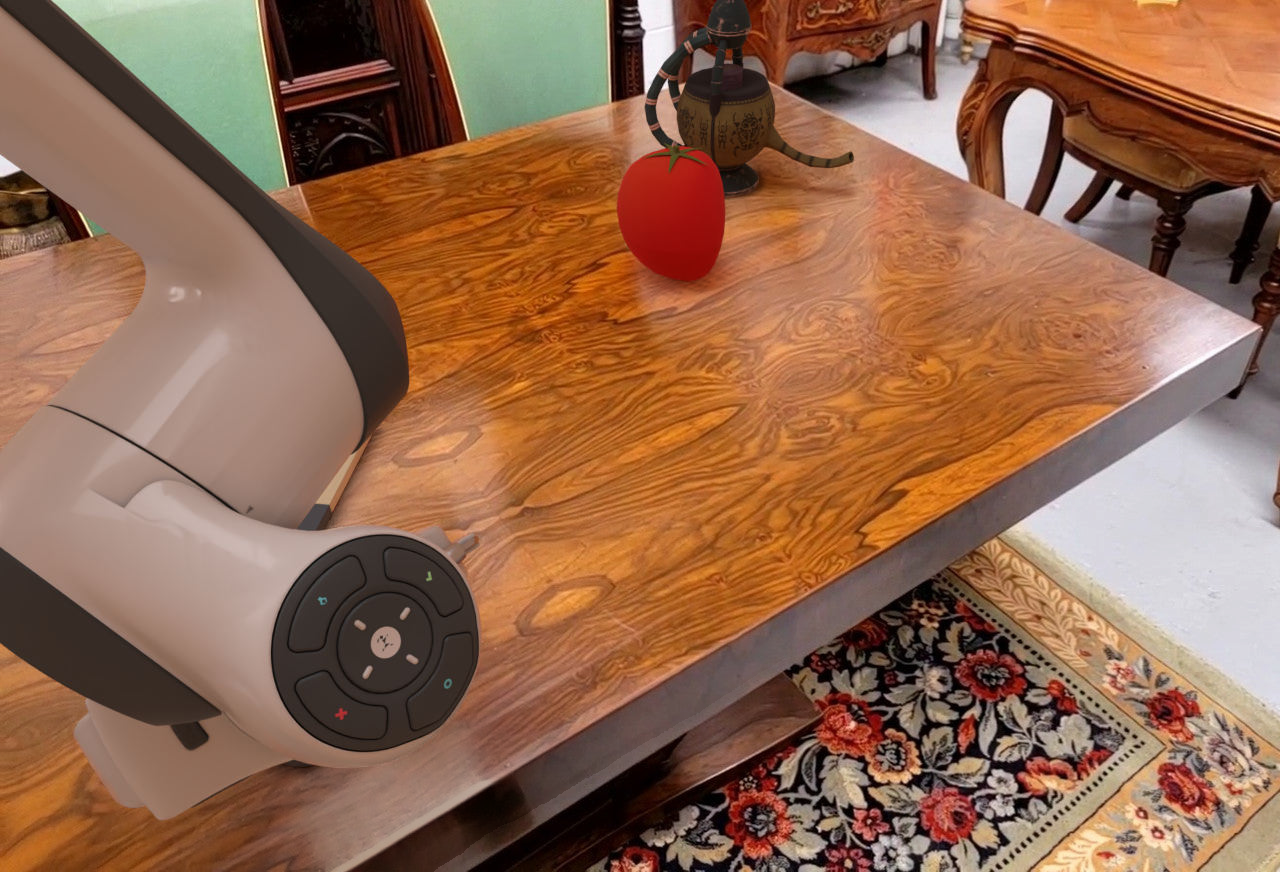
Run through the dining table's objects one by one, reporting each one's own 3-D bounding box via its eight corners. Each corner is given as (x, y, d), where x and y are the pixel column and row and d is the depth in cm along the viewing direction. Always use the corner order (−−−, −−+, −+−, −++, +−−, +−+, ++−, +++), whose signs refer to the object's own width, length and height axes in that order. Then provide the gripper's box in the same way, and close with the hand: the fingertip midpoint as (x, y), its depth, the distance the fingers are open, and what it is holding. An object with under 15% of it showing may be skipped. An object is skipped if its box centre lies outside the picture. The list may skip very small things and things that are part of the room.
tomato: (748, 275, 102) (756, 151, 93) (669, 313, 97) (669, 186, 88) (674, 233, 110) (674, 115, 101) (596, 266, 105) (589, 144, 95)
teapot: (671, 153, 127) (671, -33, 111) (856, 176, 120) (883, -18, 105) (642, 192, 118) (637, -4, 103) (840, 219, 112) (866, 14, 96)
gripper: (458, 481, 49) (394, 516, 60) (43, 720, 38) (65, 705, 50) (519, 585, 49) (444, 599, 61) (124, 850, 39) (127, 804, 51)
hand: (270, 649), depth 55 cm, fingers closed on sundae, 6 cm apart
